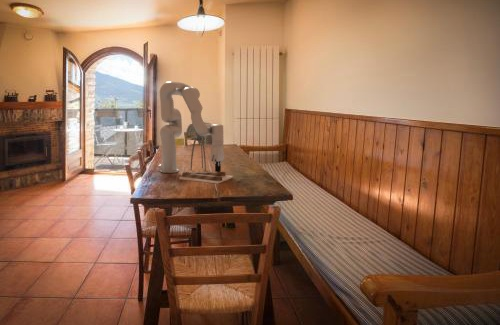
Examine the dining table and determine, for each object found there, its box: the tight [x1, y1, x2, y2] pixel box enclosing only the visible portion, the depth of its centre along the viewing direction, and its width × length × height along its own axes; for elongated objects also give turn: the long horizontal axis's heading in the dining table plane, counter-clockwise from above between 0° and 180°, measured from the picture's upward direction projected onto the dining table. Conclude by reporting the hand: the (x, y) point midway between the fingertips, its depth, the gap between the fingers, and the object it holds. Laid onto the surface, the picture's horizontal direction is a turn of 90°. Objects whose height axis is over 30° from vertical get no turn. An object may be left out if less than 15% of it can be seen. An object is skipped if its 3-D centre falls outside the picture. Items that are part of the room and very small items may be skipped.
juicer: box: [190, 131, 207, 172], centre depth 258 cm, size 10×11×30 cm
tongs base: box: [181, 171, 222, 181], centre depth 226 cm, size 26×3×3 cm, turn 66°
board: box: [178, 174, 234, 184], centre depth 231 cm, size 27×20×1 cm
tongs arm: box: [190, 171, 226, 176], centre depth 234 cm, size 22×3×2 cm, turn 96°
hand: (217, 171), depth 240 cm, fingers closed
